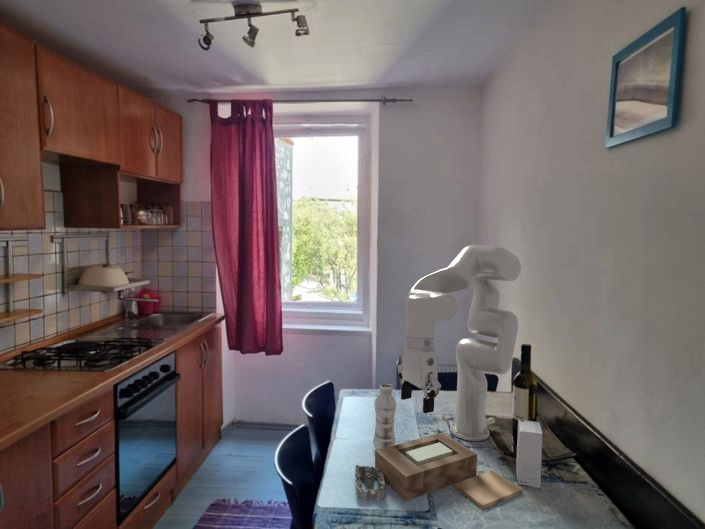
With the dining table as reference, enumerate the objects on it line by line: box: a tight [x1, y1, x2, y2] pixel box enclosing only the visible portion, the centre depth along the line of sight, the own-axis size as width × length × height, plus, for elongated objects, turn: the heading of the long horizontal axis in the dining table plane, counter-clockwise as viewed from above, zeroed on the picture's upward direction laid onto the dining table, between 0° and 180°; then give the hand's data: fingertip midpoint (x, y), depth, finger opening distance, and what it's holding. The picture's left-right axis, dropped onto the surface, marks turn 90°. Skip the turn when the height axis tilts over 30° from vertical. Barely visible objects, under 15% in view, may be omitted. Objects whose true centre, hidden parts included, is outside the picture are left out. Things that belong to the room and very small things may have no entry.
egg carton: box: [354, 464, 386, 501], centre depth 114 cm, size 11×8×4 cm
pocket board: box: [374, 432, 478, 502], centre depth 120 cm, size 24×14×6 cm, turn 119°
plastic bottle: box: [372, 383, 397, 450], centre depth 132 cm, size 6×7×20 cm
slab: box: [405, 442, 453, 466], centre depth 120 cm, size 12×5×2 cm, turn 119°
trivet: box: [453, 470, 523, 510], centre depth 114 cm, size 14×10×1 cm
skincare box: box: [515, 419, 544, 489], centre depth 119 cm, size 8×6×15 cm
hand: (416, 405), depth 117 cm, fingers open, 9 cm apart
